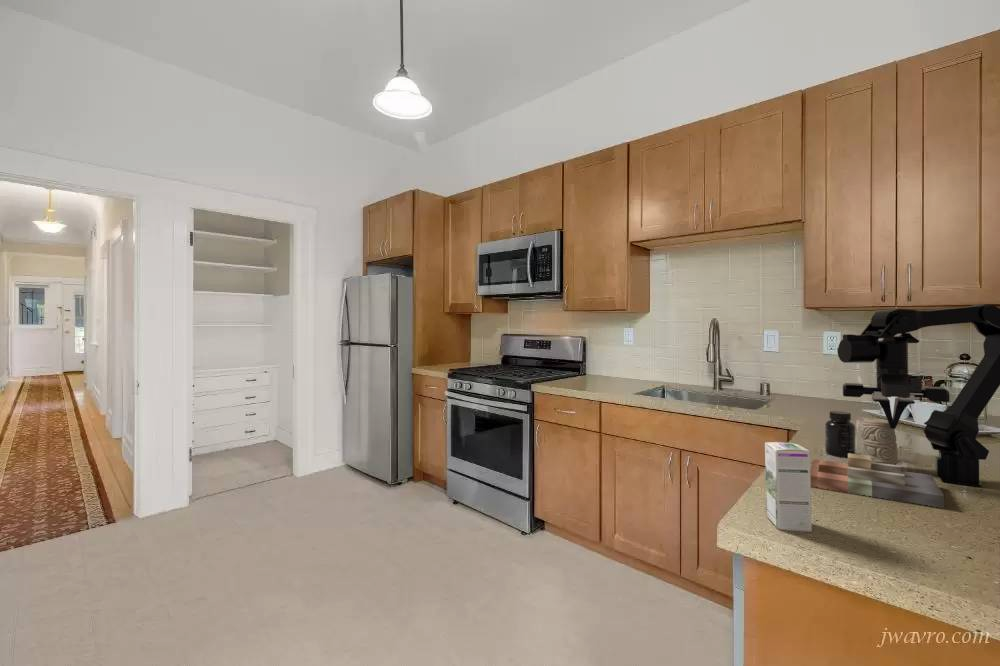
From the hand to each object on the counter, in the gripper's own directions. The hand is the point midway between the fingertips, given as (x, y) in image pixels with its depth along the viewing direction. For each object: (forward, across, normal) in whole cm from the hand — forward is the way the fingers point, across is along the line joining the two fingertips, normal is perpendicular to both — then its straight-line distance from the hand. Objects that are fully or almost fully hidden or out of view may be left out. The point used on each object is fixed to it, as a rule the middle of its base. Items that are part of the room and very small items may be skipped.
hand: (892, 428), depth 107 cm
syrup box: (+12, -19, -43) cm, 49 cm away
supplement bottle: (+12, -10, +18) cm, 24 cm away
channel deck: (+12, -5, -10) cm, 16 cm away
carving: (+12, -2, +10) cm, 16 cm away
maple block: (+9, -7, -10) cm, 15 cm away
